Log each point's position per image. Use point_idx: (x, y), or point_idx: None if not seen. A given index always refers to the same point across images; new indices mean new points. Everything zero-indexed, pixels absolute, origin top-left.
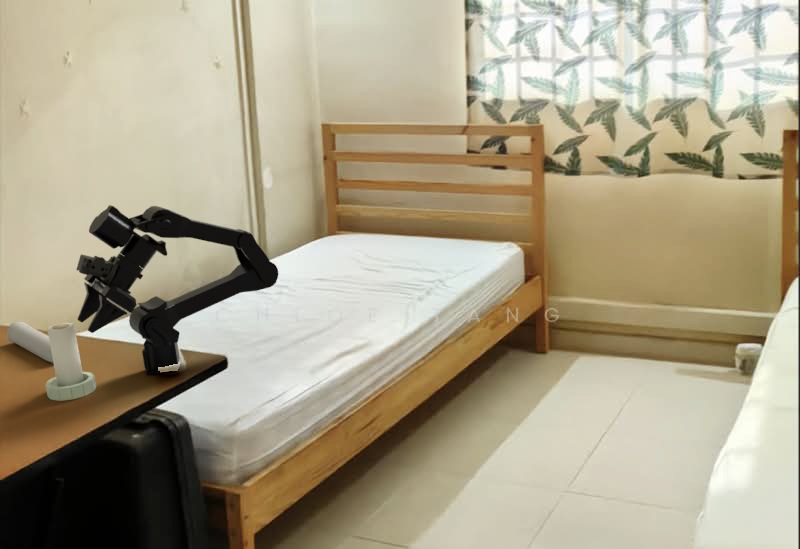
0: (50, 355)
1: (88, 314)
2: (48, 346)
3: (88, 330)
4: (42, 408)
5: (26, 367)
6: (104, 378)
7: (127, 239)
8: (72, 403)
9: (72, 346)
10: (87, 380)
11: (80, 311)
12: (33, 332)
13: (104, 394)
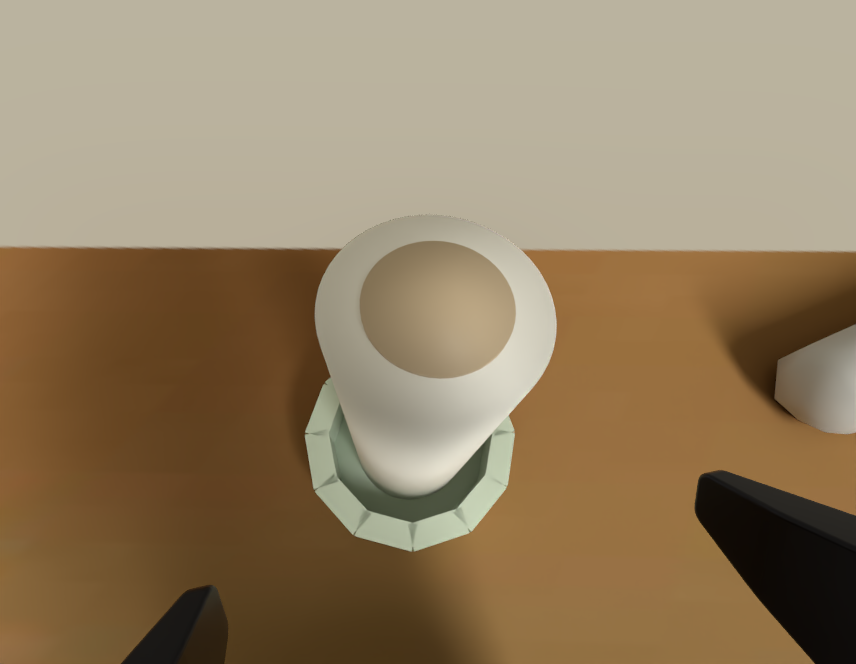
0: (790, 364)
1: (797, 612)
2: (842, 349)
3: (188, 592)
4: (294, 342)
5: (753, 301)
6: (514, 595)
7: None
8: (269, 443)
9: (353, 427)
10: (353, 513)
11: (828, 509)
12: None
13: (286, 588)
